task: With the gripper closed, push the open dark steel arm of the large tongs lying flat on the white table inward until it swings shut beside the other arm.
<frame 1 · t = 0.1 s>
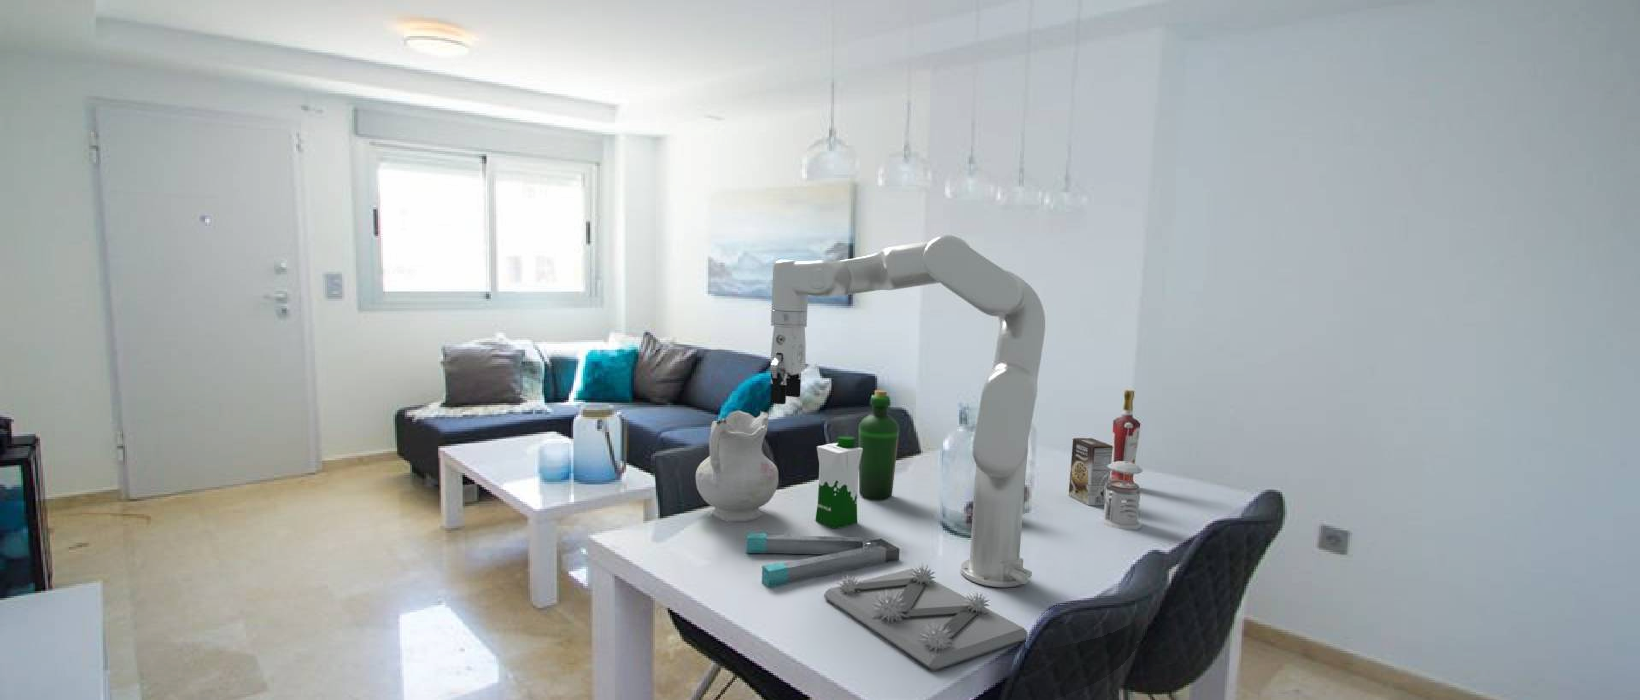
hand: (785, 399, 161), 31 cm above the table, tool pointing down, fingers open, 9 cm apart
cookie box: (1087, 500, 205), on the table
french press: (1117, 523, 187), on the table
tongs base: (870, 558, 157), on the table
ceramic pitcher: (734, 515, 180), on the table
tongs arm: (811, 545, 157), point 2 cm above the table, hinge at 30.0°
milk carton: (835, 522, 178), on the table
bottle: (875, 496, 201), on the table
liquor: (1121, 486, 220), on the table
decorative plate: (920, 622, 131), on the table
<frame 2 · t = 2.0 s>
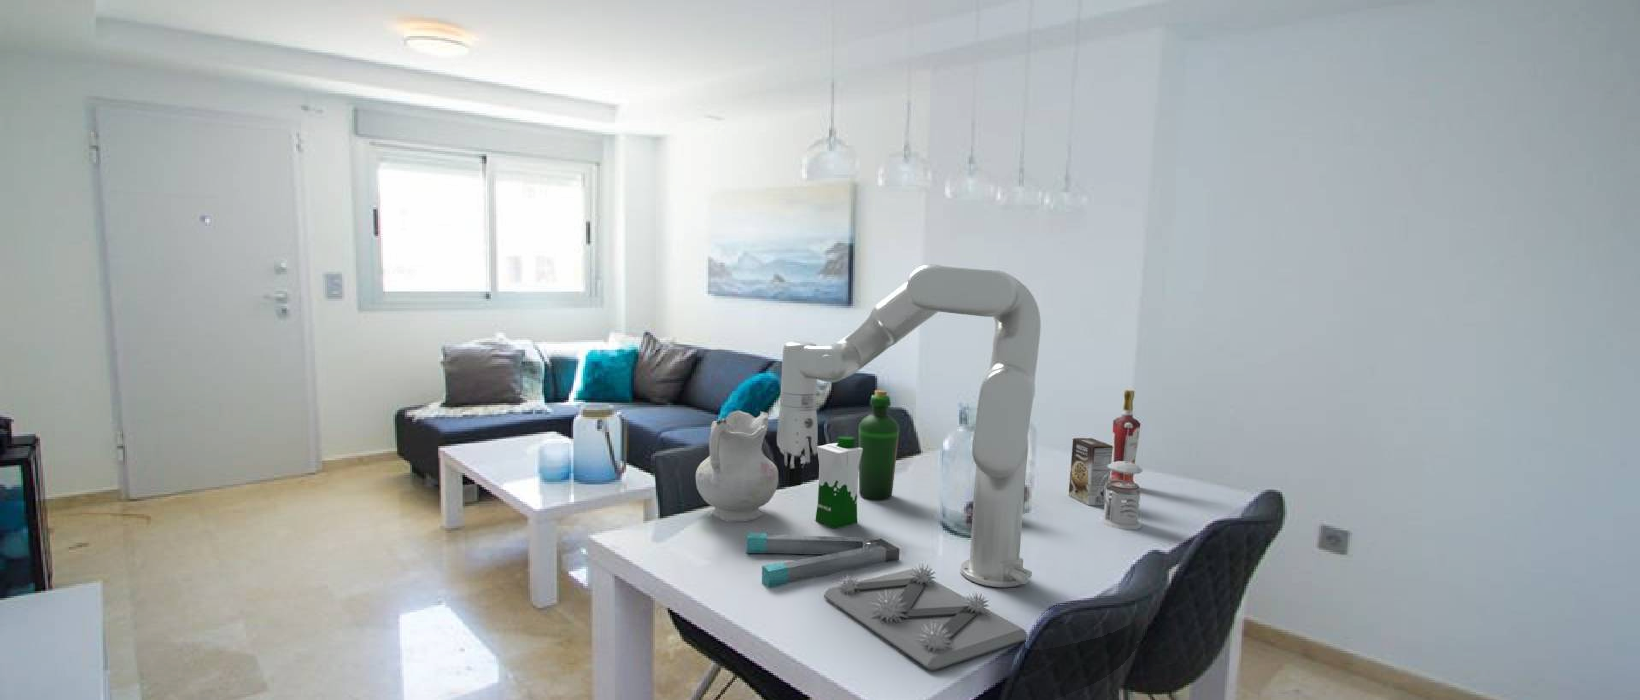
hand: (792, 484, 162), 13 cm above the table, tool pointing down, fingers closed
nothing on the table moved.
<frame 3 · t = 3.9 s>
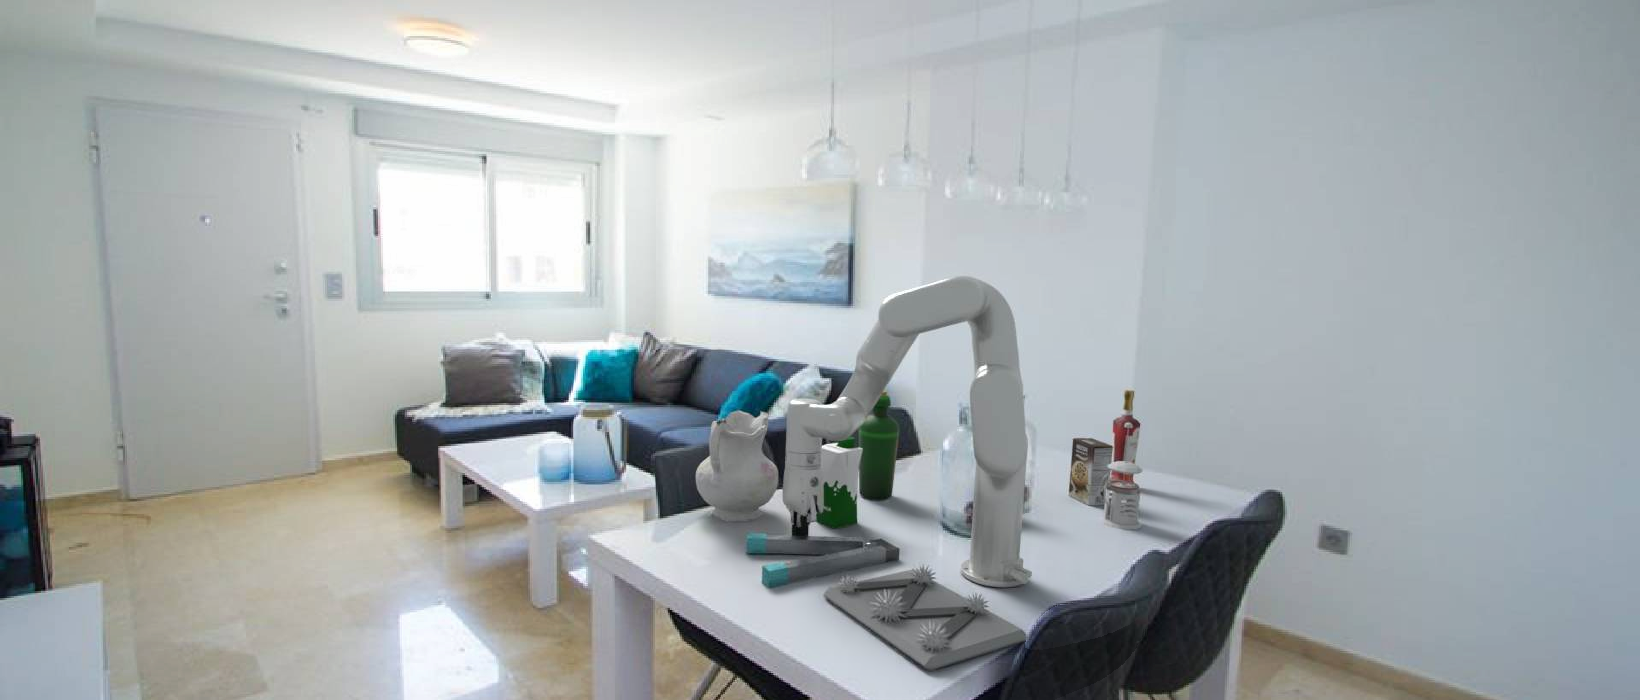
hand: (799, 542, 161), 1 cm above the table, tool pointing down, fingers closed
tongs arm: (811, 546, 157), point 2 cm above the table, hinge at 29.4°, touching gripper
everything else where it was.
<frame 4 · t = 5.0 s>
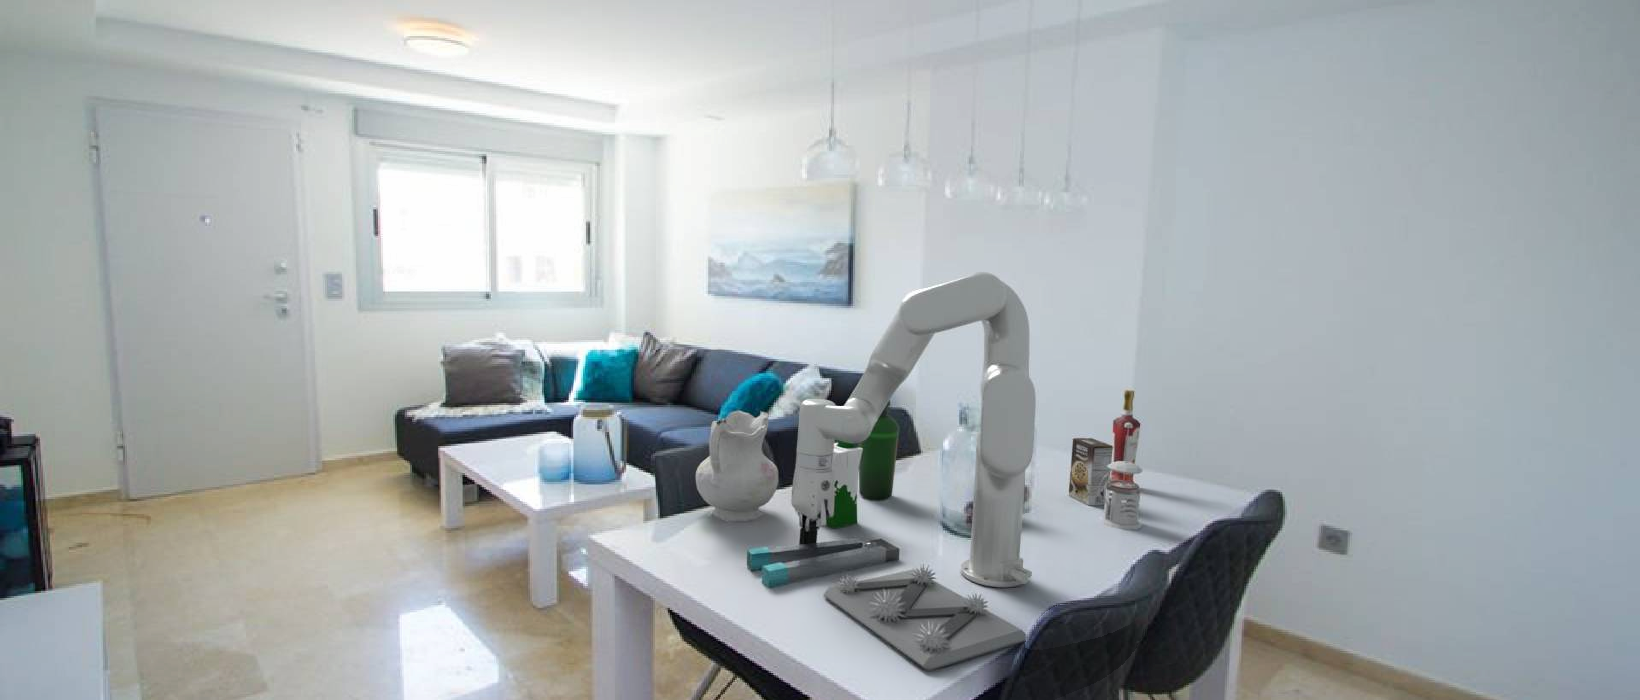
hand: (807, 546, 156), 2 cm above the table, tool pointing down, fingers closed
tongs arm: (813, 553, 153), point 2 cm above the table, hinge at 9.5°, touching gripper
everything else where it was.
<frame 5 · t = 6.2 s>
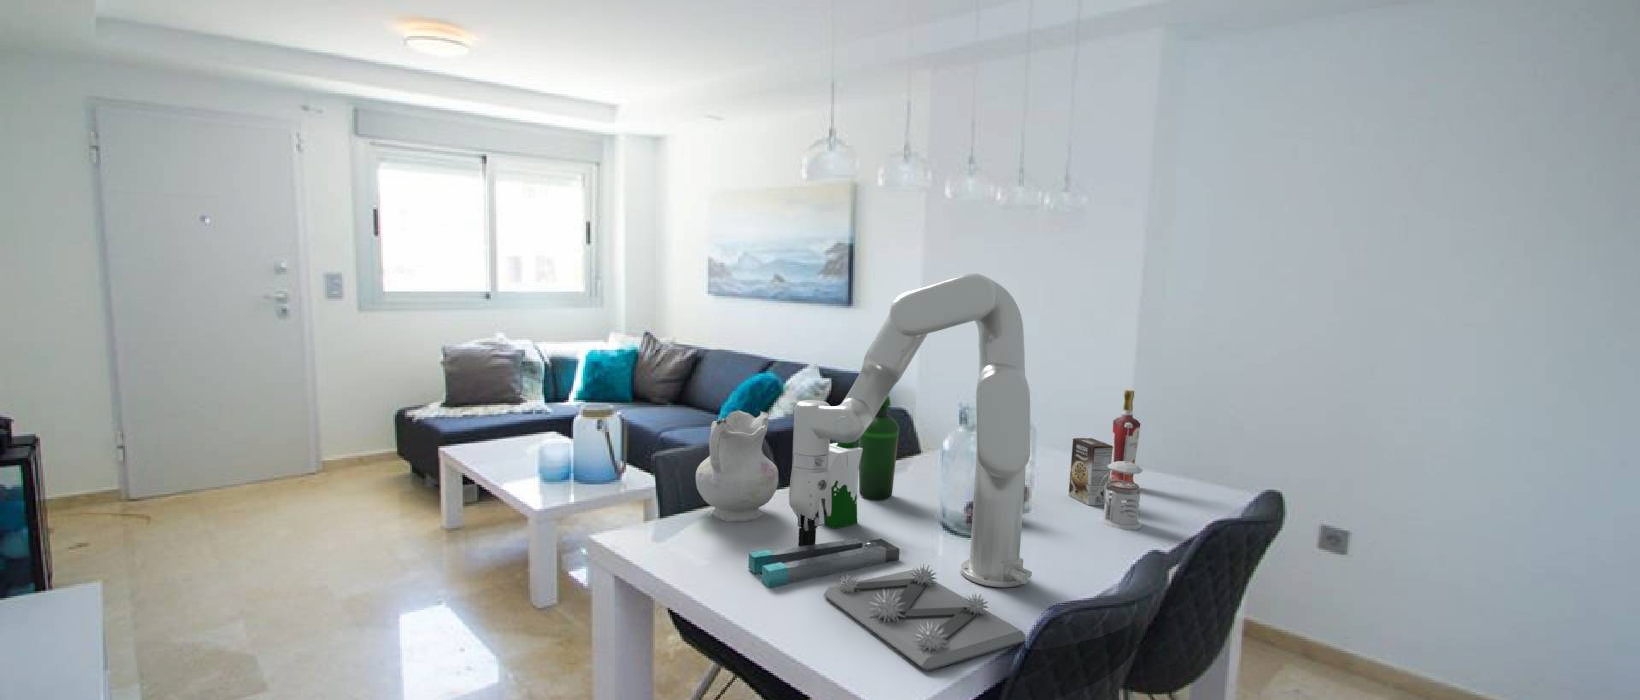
hand: (806, 546, 158), 1 cm above the table, tool pointing down, fingers closed
tongs arm: (815, 555, 152), point 2 cm above the table, hinge at 5.7°
everything else where it was.
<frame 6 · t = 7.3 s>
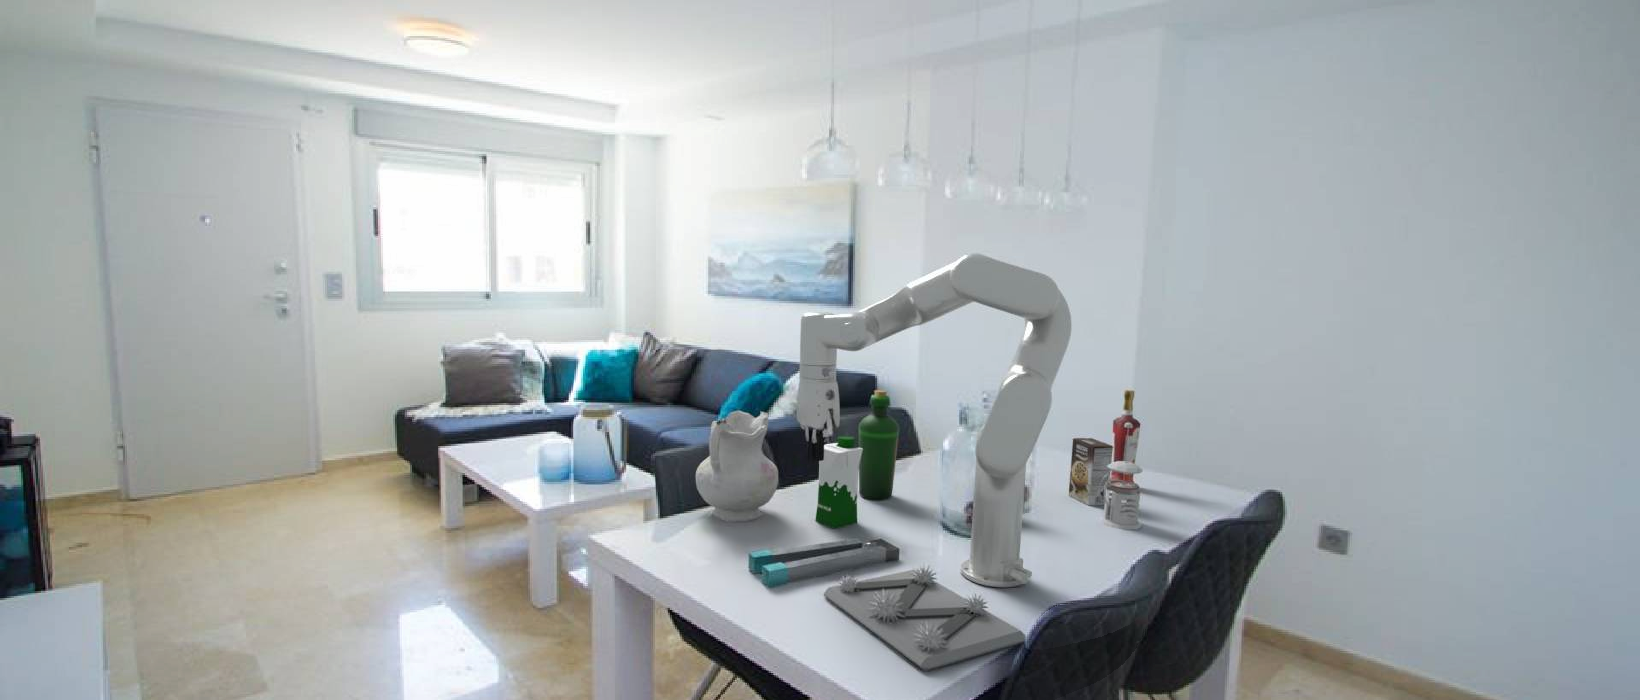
hand: (815, 460, 158), 19 cm above the table, tool pointing down, fingers closed
nothing on the table moved.
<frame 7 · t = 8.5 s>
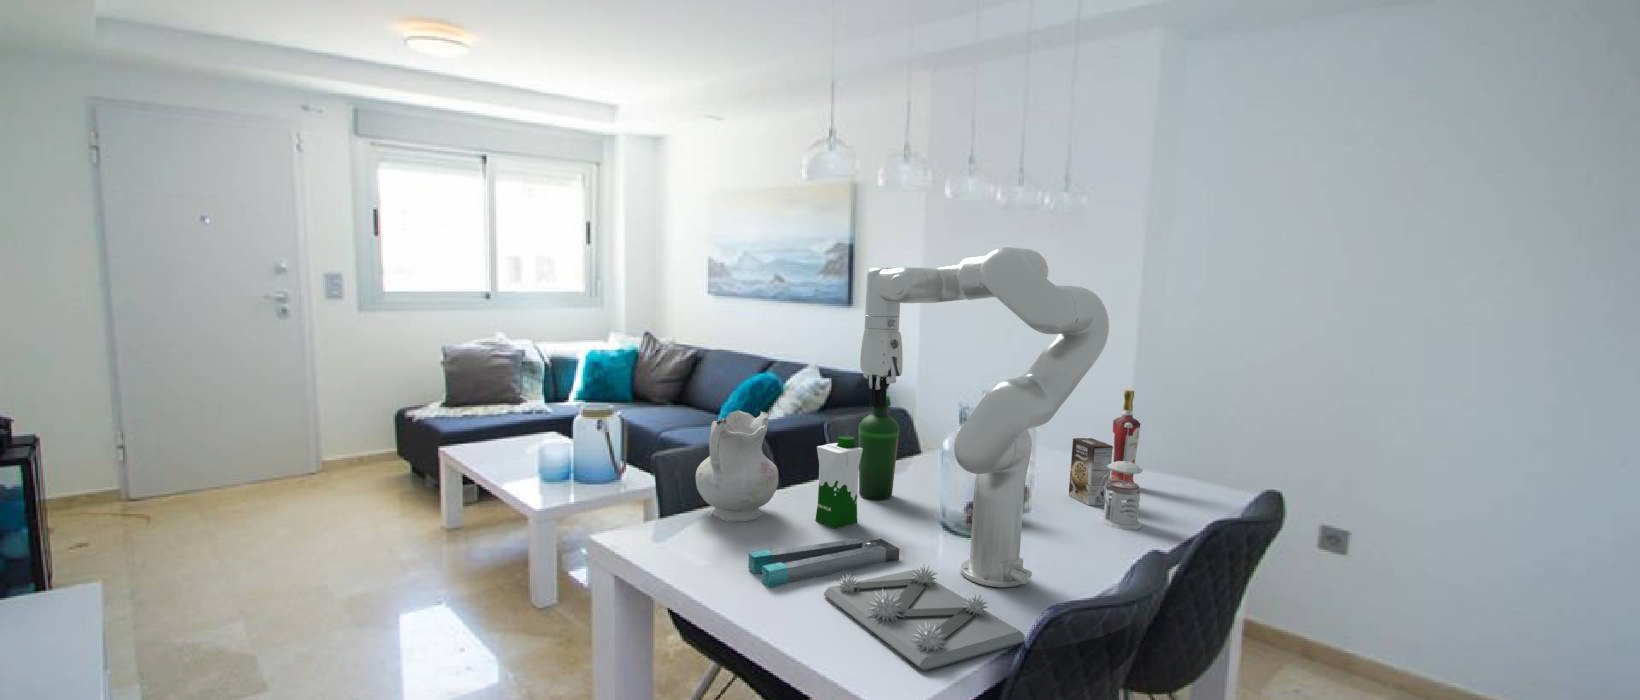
hand: (877, 406, 169), 29 cm above the table, tool pointing down, fingers closed
nothing on the table moved.
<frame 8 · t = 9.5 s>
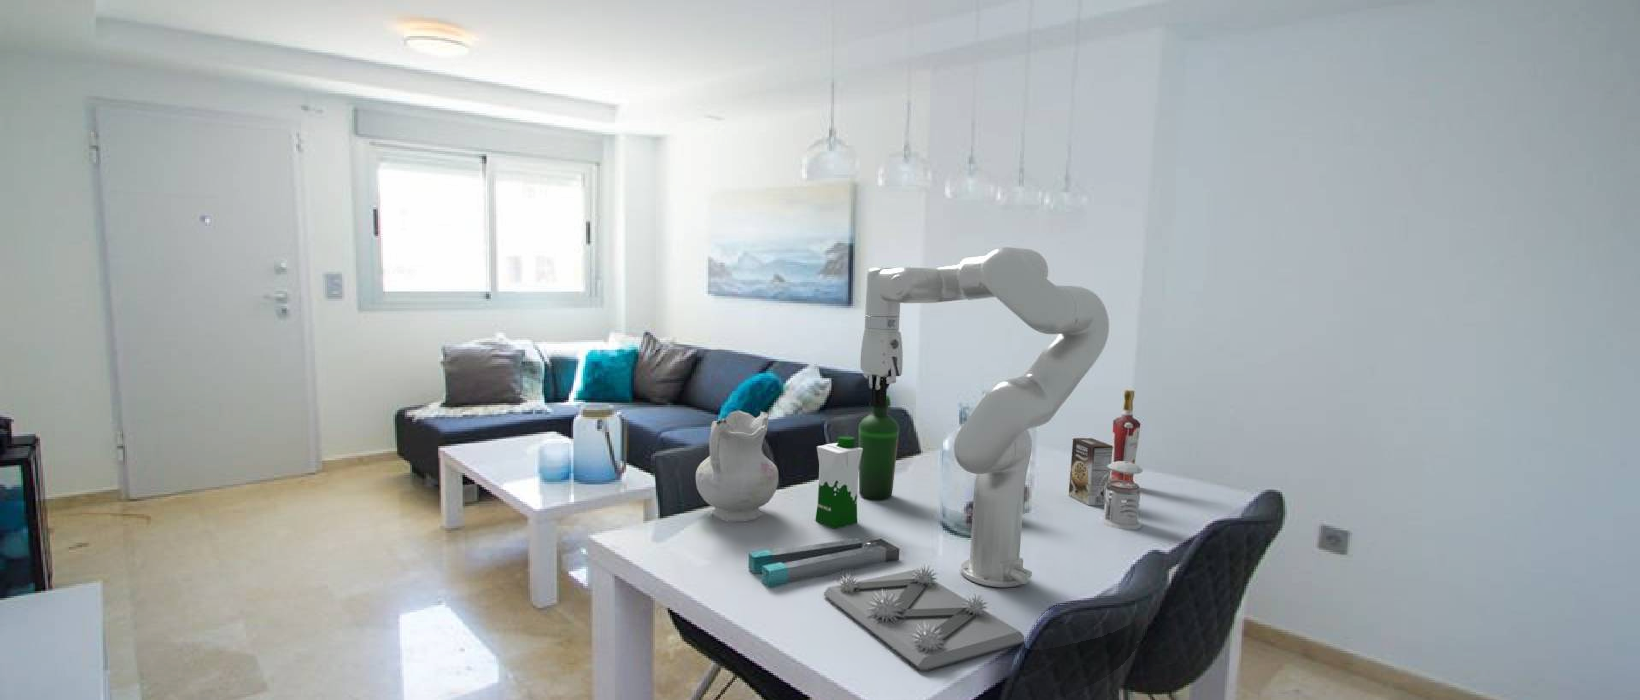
hand: (877, 406, 169), 29 cm above the table, tool pointing down, fingers closed
nothing on the table moved.
at the end: tongs arm at +6° (first picture: +30°) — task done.
